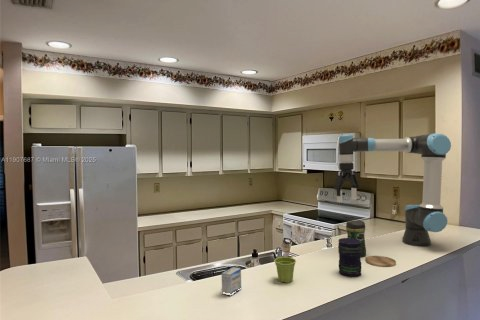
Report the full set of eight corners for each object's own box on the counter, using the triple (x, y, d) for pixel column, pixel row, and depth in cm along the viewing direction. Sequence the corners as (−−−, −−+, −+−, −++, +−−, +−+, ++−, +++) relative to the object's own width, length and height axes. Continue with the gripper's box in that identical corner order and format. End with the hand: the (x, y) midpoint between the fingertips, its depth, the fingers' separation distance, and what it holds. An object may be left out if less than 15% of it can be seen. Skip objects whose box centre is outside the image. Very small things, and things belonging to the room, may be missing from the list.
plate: (382, 256, 169) (382, 254, 169) (402, 265, 155) (402, 263, 155) (359, 259, 165) (359, 256, 165) (377, 268, 152) (377, 265, 152)
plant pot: (282, 286, 133) (282, 265, 133) (270, 278, 141) (270, 259, 141) (300, 281, 137) (300, 261, 137) (287, 274, 146) (287, 255, 145)
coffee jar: (358, 252, 177) (358, 218, 177) (368, 256, 169) (368, 221, 169) (343, 254, 174) (343, 220, 174) (353, 258, 166) (352, 222, 166)
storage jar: (345, 268, 153) (344, 236, 153) (365, 273, 146) (364, 240, 146) (334, 273, 146) (334, 240, 146) (355, 279, 139) (354, 245, 139)
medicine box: (231, 297, 124) (230, 274, 124) (221, 294, 126) (221, 272, 126) (241, 289, 131) (241, 268, 130) (232, 287, 133) (232, 266, 133)
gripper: (353, 161, 188) (353, 197, 189) (326, 163, 173) (327, 202, 173) (365, 161, 182) (365, 199, 183) (338, 163, 167) (339, 203, 168)
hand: (347, 200), depth 178 cm, fingers open, 13 cm apart
